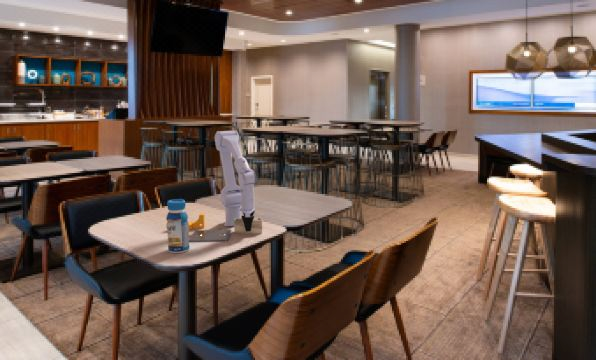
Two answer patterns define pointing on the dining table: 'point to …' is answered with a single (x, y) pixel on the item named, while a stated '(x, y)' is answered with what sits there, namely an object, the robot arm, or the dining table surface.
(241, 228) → the spacer bar
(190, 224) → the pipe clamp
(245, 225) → the robot arm
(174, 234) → the beverage bottle
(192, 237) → the bolt plate
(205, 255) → the dining table surface
